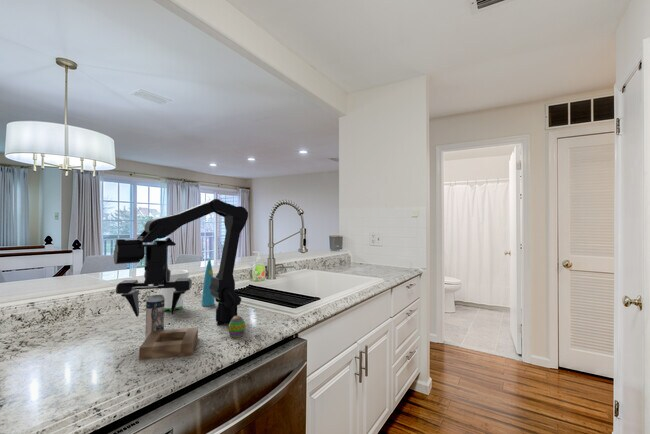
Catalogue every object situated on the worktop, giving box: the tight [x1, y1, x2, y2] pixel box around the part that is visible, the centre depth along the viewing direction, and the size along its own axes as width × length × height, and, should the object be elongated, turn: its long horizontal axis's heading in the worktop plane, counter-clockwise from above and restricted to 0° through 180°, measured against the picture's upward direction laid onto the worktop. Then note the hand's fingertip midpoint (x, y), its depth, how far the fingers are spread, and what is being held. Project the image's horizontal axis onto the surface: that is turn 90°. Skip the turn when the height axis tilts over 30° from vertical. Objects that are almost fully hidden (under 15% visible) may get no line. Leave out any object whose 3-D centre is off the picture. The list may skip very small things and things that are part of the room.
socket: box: [138, 327, 199, 361], centre depth 82 cm, size 12×12×3 cm
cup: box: [159, 269, 190, 312], centre depth 119 cm, size 11×11×14 cm
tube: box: [201, 256, 215, 307], centre depth 125 cm, size 7×5×19 cm, turn 26°
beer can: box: [144, 294, 165, 339], centre depth 89 cm, size 5×5×12 cm
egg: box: [227, 314, 246, 339], centre depth 92 cm, size 5×5×6 cm
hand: (155, 315), depth 89 cm, fingers open, 9 cm apart
